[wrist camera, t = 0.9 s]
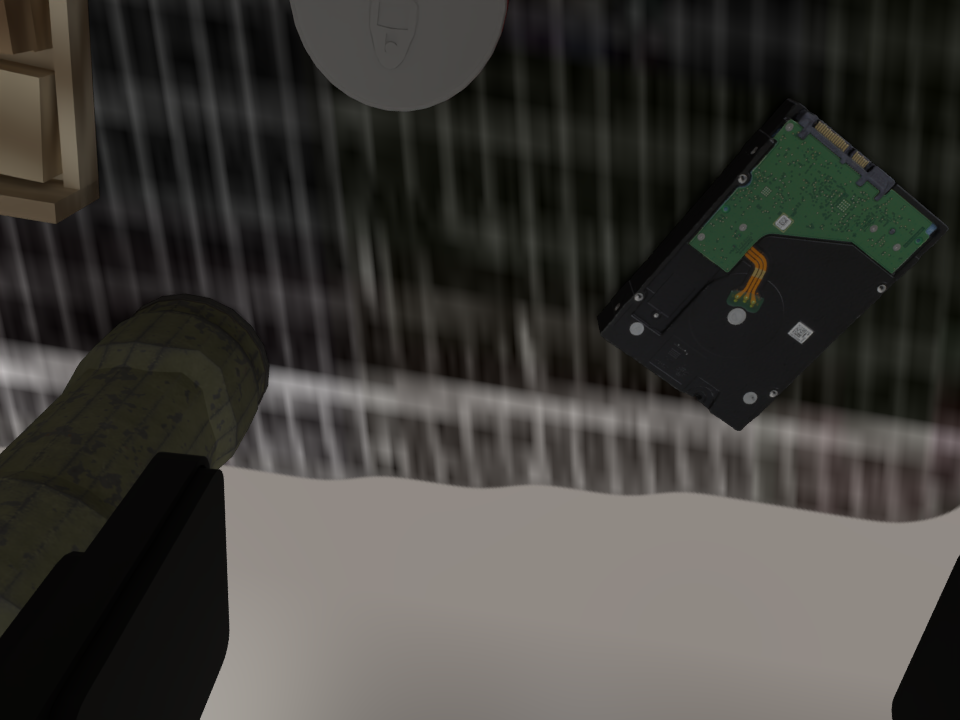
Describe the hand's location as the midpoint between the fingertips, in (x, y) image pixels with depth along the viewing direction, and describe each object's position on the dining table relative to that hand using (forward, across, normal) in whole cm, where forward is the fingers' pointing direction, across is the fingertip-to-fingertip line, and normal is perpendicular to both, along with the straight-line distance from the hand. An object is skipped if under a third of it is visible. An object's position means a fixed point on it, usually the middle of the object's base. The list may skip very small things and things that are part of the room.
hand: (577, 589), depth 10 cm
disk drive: (+34, -13, +6) cm, 37 cm away
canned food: (+34, +5, -6) cm, 34 cm away
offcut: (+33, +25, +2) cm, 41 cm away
